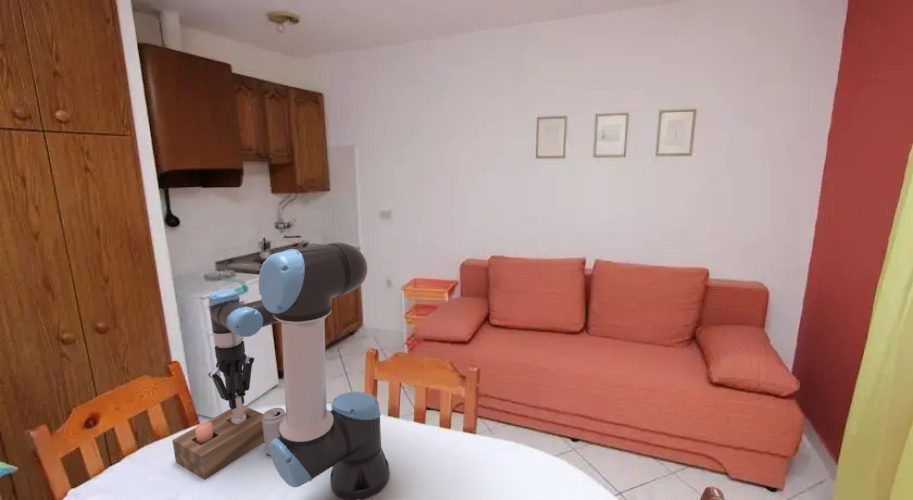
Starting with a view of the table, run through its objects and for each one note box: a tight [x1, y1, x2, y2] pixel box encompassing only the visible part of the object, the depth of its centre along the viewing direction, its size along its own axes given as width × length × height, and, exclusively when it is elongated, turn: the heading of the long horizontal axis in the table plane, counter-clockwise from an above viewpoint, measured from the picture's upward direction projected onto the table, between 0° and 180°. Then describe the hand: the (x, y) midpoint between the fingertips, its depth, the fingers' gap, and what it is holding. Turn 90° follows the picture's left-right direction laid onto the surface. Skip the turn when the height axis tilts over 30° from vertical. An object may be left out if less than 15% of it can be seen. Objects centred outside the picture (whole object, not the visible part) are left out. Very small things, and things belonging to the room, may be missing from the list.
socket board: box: [172, 404, 265, 480], centre depth 119 cm, size 14×20×7 cm
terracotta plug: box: [194, 421, 214, 445], centre depth 114 cm, size 4×4×6 cm
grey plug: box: [231, 413, 246, 425], centre depth 123 cm, size 4×4×6 cm
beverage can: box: [262, 407, 286, 456], centre depth 118 cm, size 6×6×12 cm
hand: (238, 416), depth 122 cm, fingers closed
